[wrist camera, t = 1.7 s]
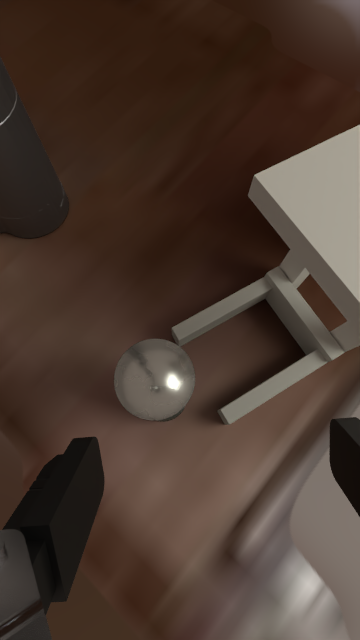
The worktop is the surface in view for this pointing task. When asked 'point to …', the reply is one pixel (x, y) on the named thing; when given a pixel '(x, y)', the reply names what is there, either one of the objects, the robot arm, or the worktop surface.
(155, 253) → the worktop surface
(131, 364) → the canister
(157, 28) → the worktop surface
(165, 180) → the worktop surface
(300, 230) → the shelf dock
